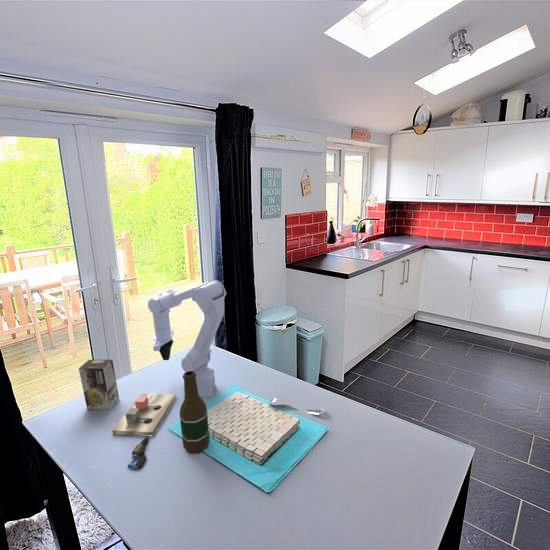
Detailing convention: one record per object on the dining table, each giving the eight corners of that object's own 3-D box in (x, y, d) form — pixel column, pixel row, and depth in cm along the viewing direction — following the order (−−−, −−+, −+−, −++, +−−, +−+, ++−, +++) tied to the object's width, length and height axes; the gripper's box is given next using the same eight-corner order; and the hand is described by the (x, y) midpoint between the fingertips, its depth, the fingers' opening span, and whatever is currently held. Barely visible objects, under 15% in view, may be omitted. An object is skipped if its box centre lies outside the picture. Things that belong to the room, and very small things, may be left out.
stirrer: (326, 401, 120) (323, 409, 116) (327, 410, 121) (324, 419, 117) (271, 393, 128) (266, 400, 124) (272, 402, 129) (267, 410, 124)
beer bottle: (215, 440, 109) (208, 369, 103) (199, 458, 102) (191, 383, 96) (194, 433, 112) (186, 364, 106) (177, 450, 106) (168, 377, 99)
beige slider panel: (176, 397, 131) (174, 385, 130) (152, 436, 112) (150, 422, 111) (141, 396, 132) (140, 384, 131) (113, 434, 113) (110, 420, 112)
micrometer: (139, 466, 99) (122, 465, 99) (140, 472, 99) (123, 470, 100) (158, 435, 110) (143, 434, 111) (159, 440, 110) (144, 439, 111)
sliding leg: (159, 404, 124) (158, 397, 123) (155, 410, 121) (154, 402, 120) (140, 404, 125) (139, 396, 124) (136, 409, 122) (135, 401, 121)
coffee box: (120, 399, 131) (113, 359, 127) (110, 410, 125) (103, 368, 121) (96, 398, 132) (89, 358, 128) (85, 409, 126) (77, 368, 122)
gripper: (159, 319, 144) (163, 350, 147) (143, 334, 130) (148, 368, 133) (177, 319, 143) (180, 350, 146) (162, 335, 129) (166, 369, 133)
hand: (166, 359), depth 140 cm, fingers closed
